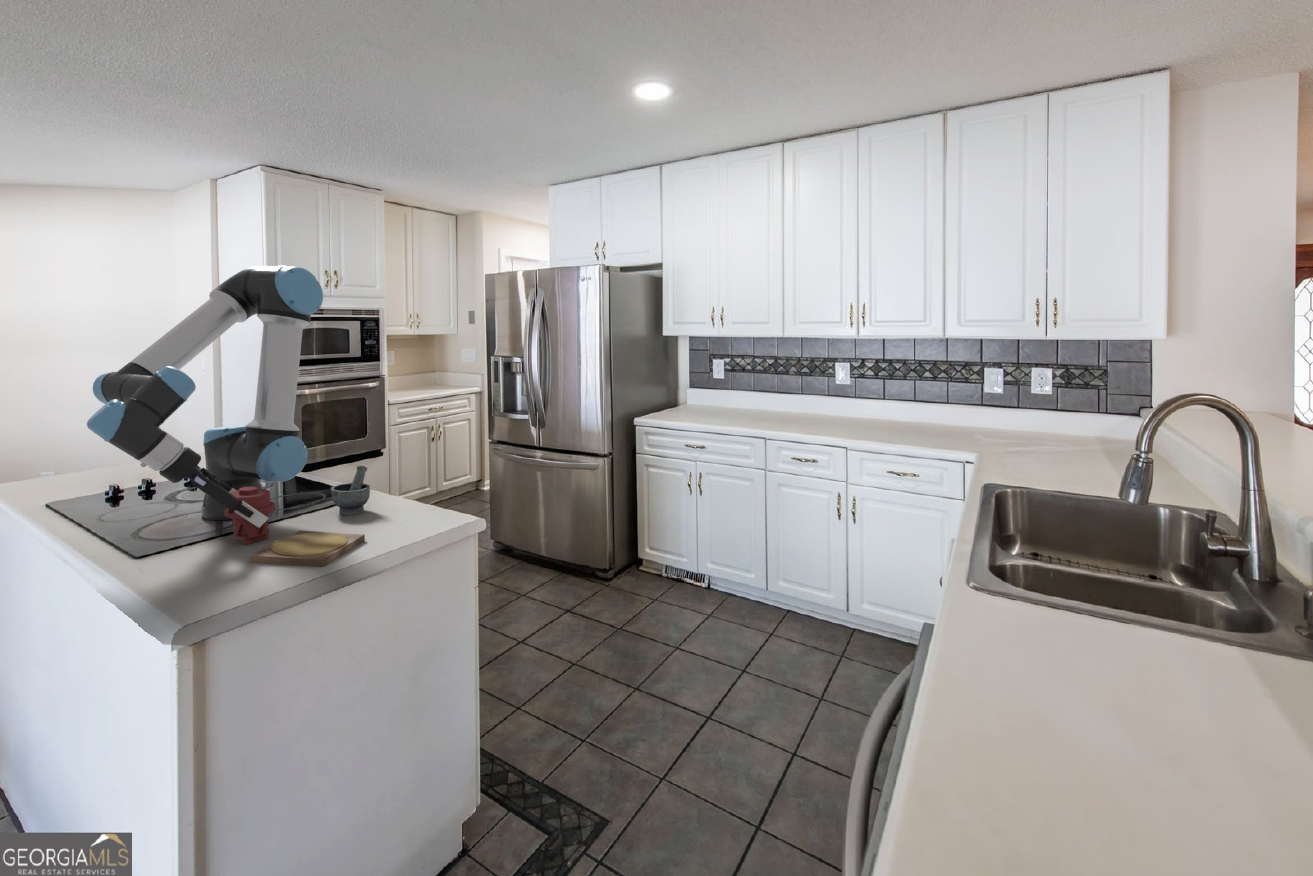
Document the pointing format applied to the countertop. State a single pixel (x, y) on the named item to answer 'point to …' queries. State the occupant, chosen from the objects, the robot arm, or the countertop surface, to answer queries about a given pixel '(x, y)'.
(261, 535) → the mechanical component
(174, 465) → the robot arm
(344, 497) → the mortar and pestle
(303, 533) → the marked board
